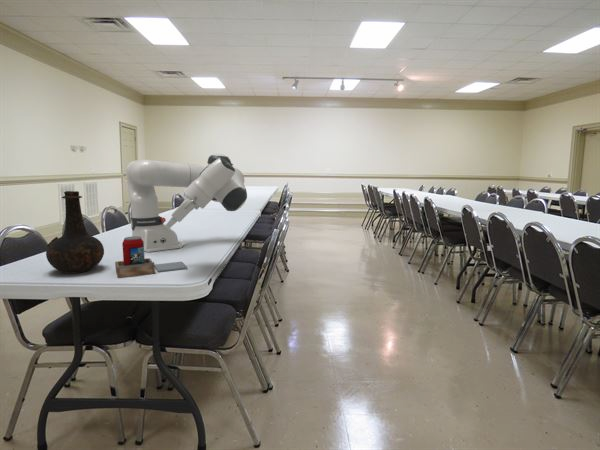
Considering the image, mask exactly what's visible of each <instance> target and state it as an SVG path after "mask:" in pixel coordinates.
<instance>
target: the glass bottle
mask: <svg viewBox="0 0 600 450" xmlns="http://www.w3.org/2000/svg"><path fill="white" fill-rule="evenodd" d="M63 193H64V195H63V196H62V197H61V199H63V200H65V201H64V205H65V222H64V223H65V225H64V229H63V230H64V231H63V233H62V236H60V237H58V236H55V237H54V238H53V239H52V240H50V242H49V243H47V245H46V249H45V250H46V252H45V255H46V260H47V262H48V264H49V265H51V267H52V268H54V269H55V270H57V271H59V272H61V273H65V274H78V273H79V274H80V273H84V272H89V271H91V270H93V269H95V267H97V266H99V264H100V262H102V259H103V257H104V255H105V249H104V245H103V243H102V241H101V240H99V239H98V238H96V237H94V236H93V235H90V234H89V233H88V231H87V228H86V225H85V223H84V218H83V214H82V213H83V212H82V207H81V199H82V198H83V196H82V195H80V191H78V190H77V191H76V190H73V191H72V190H66V191H63Z"/></svg>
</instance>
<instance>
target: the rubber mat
mask: <svg viewBox="0 0 600 450" xmlns="http://www.w3.org/2000/svg"><path fill="white" fill-rule="evenodd" d="M154 267H155V271H157V273H163V272H172V271H183V270H188V269H189V268H188V266H187V265H186V264H185V263H184V262H183V261H174V262H166V263H165V262H164V263H154Z"/></svg>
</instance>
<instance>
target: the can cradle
mask: <svg viewBox="0 0 600 450" xmlns="http://www.w3.org/2000/svg"><path fill="white" fill-rule="evenodd" d="M114 264H115V272H116V277H117V278H127V277H128V278H129V277H137V276H144V275H151V274H155V273H156V268H155V267H154V265H155V262H154V261H152V258H150V257H148V258H145V263H143V264H134V265H125V266H124V260H120V261H119V260H118V261H115V262H114Z"/></svg>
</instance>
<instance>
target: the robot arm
mask: <svg viewBox="0 0 600 450" xmlns="http://www.w3.org/2000/svg"><path fill="white" fill-rule="evenodd" d="M206 162H207V165H206V167H205V166H202V165H199V164H193V163H185V162H174V161H163V160H153V159H136V160H133V161H131V162H129V163H128V164H127V166H126V168H125V176H126V182H127V186H128V193H129V196H130V205H131V207H130V208H131V217H130V227H131V231H132V236H131V237H133V236H139V237H141V239H142V240H143V243H144V253H145V252H146V253H147V252H148V253H152V252H159V251H167V250H174V249H181V248H183V247H184V243H183V242H182V241H179V239H178V235H177V233H176V231H175V230H173V229H171V228H172V227H173V226H174V225H175V224H176V223H178V222H179V223H181V222H182V220H184V219H185V218H186V217H187V216H188V214H190V213H191V212H192V211H193V210H194V209H195V210H199V208H200V209H204V208H206V206H207V205H208V204H209V203H210V202H211V201H213V202H216V203H219V204H221V206H222V207H223V208H224V209H225V210H226V211H227V212H236V211H238V210H240V209H241V208H242V207H243V206H244V205H245V203H246V201H247V199H248V193H247V189H246V186H245V176H244V174H243V172H242V171H241V170H240V169H238V168H236V167H234V164H233V163H232V161H231V158H229V156H226V155H225V154H222V153H215V154H214V153H213V154H211V155H209V157H208V158H207V161H206ZM155 187H165V188H166V187H170V188H175V187H176V188H186V189H184V190H183V192H184V195H183V201H182V203H181V204H180V205H179V206H178V207H177V208H176V209H175V210H174V211H173V212H172V213H171V217H170V219H169V221H167V223H166V224H164V223H165V222H166V218H165V217H163V216H160V215H159V199H158V195H157V192H156V188H155Z"/></svg>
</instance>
